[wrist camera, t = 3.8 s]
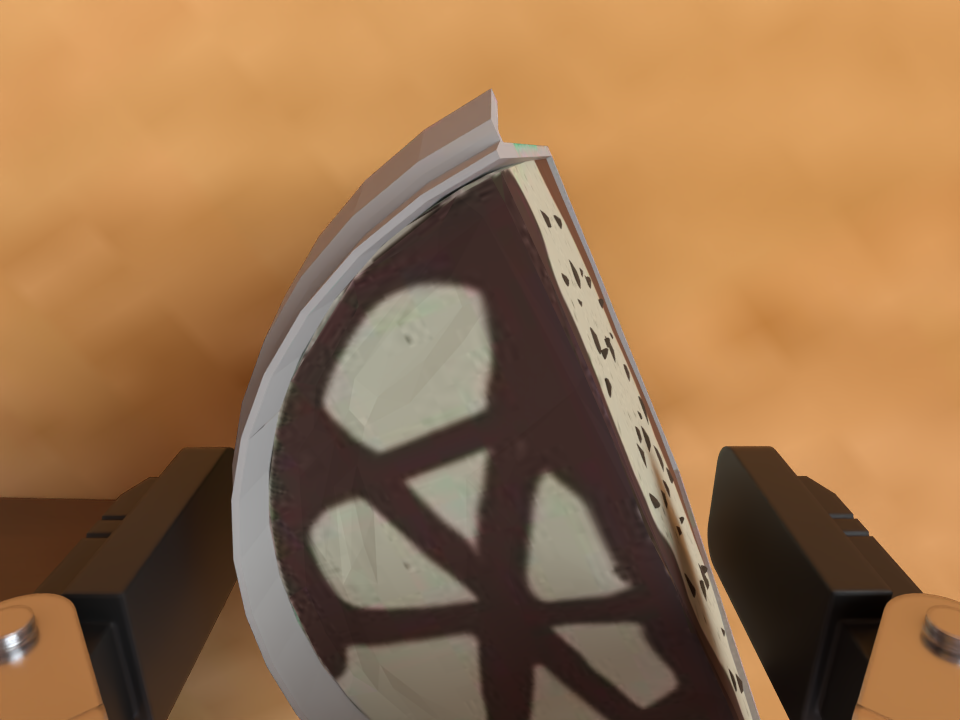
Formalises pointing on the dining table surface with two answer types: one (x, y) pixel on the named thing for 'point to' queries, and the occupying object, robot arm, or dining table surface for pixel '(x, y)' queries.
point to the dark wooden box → (40, 538)
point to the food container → (468, 467)
